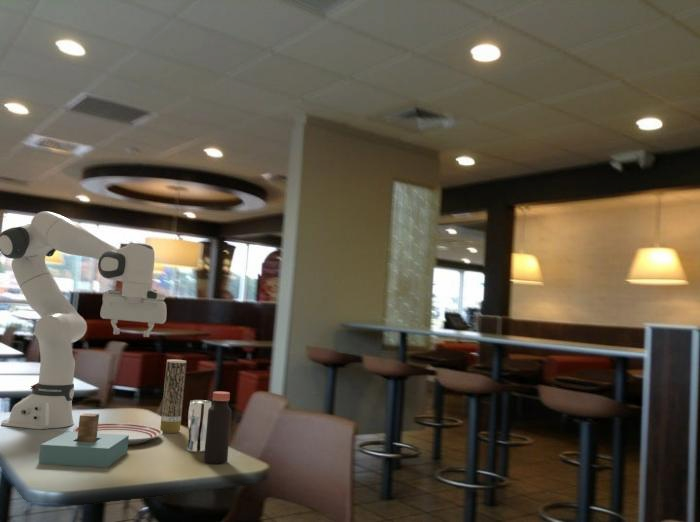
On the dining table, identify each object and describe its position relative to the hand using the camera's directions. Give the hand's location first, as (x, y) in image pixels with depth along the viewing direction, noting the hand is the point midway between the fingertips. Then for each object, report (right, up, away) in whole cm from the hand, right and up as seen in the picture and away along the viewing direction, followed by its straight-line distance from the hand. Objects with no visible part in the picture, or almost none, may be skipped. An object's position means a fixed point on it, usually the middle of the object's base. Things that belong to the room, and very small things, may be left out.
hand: (131, 335), depth 195 cm
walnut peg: (-5, -32, -22) cm, 39 cm away
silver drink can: (+22, -36, -4) cm, 42 cm away
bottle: (+30, -35, -16) cm, 49 cm away
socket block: (-5, -32, -22) cm, 39 cm away
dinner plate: (-6, -35, +4) cm, 35 cm away
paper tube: (+6, -37, +21) cm, 43 cm away
